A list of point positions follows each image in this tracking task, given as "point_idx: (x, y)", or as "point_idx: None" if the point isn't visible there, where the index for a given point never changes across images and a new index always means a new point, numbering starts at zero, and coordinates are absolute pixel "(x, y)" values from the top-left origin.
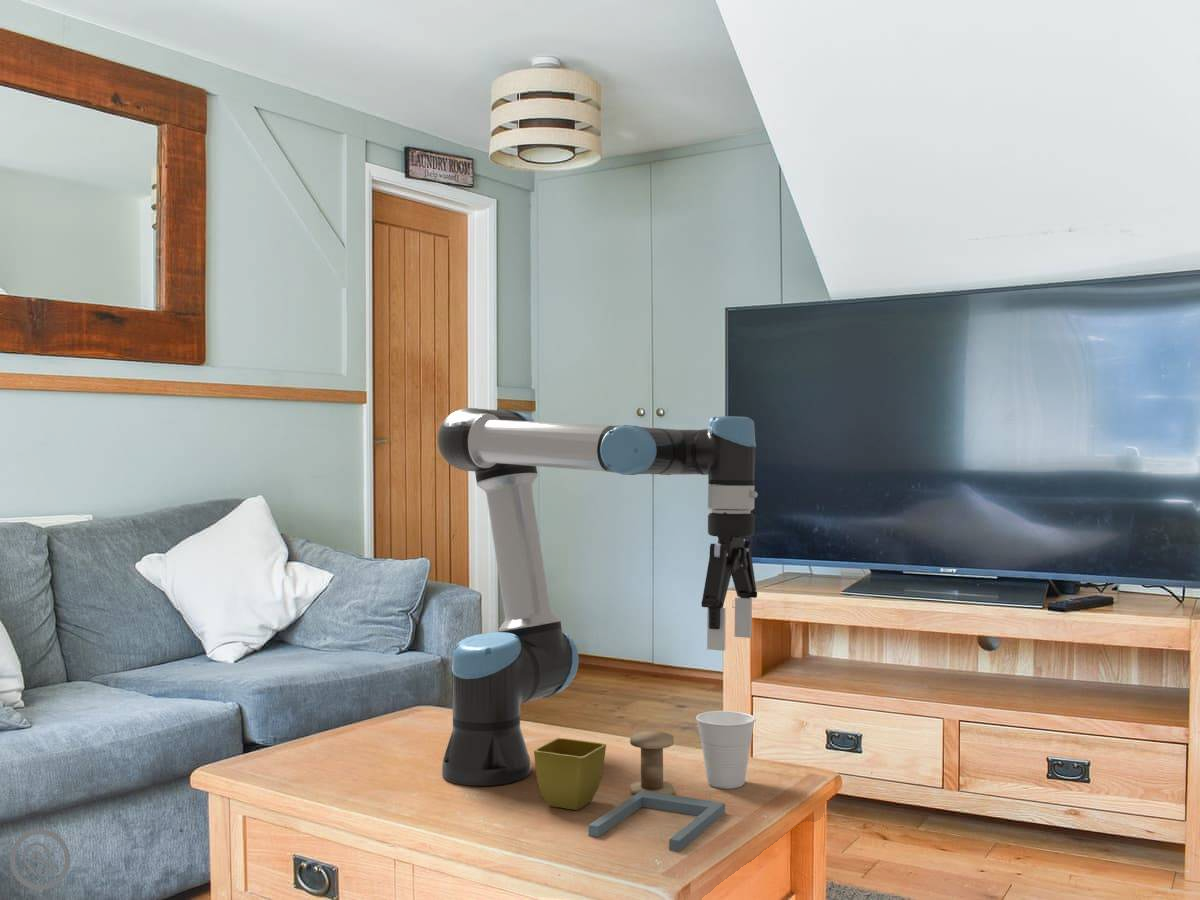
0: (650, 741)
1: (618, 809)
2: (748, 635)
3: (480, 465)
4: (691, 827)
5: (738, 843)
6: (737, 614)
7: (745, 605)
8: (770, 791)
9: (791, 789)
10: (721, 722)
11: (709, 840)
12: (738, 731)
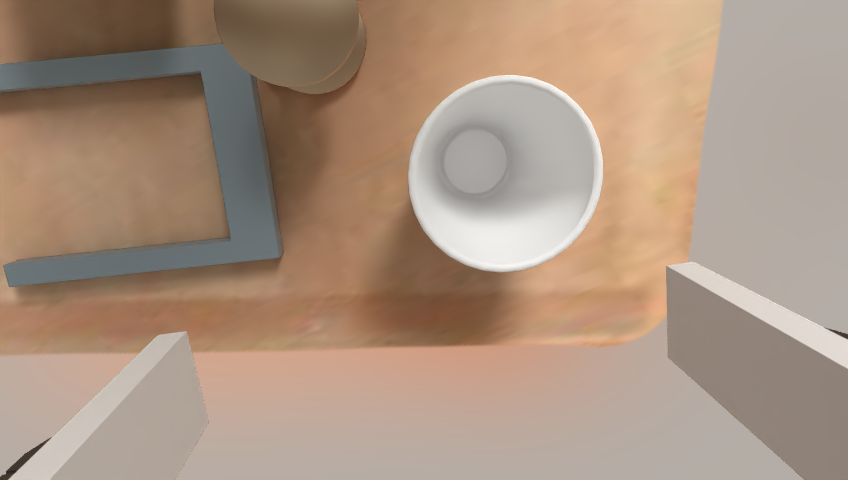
0: (234, 39)
1: (85, 70)
2: (676, 353)
3: None
4: (92, 271)
5: (141, 350)
6: (757, 337)
7: (811, 444)
8: (475, 269)
9: (512, 301)
10: (569, 125)
11: (118, 298)
12: (448, 243)
